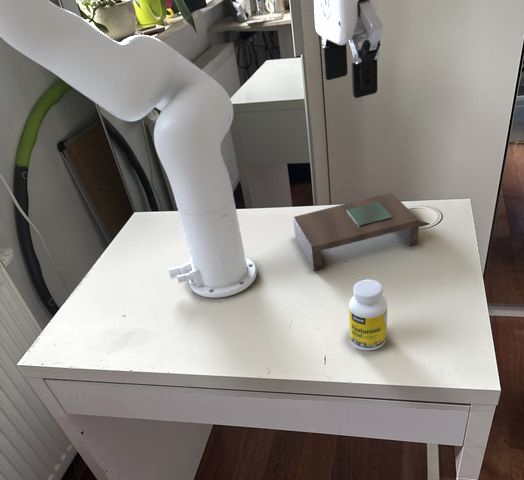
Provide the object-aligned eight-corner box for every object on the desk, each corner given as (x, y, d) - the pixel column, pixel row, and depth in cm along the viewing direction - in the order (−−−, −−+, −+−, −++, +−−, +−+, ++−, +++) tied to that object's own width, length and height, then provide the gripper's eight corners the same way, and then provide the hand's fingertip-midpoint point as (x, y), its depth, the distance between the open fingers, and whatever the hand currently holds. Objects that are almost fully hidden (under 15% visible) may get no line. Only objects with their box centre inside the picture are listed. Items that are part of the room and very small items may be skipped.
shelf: (313, 270, 94) (311, 246, 91) (295, 239, 103) (292, 215, 100) (417, 244, 96) (419, 218, 92) (390, 215, 105) (391, 191, 101)
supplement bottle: (346, 349, 78) (344, 297, 71) (353, 326, 82) (352, 274, 75) (383, 353, 76) (384, 300, 70) (389, 329, 80) (390, 277, 73)
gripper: (288, -71, 65) (302, 77, 76) (341, -68, 52) (349, 110, 63) (345, -83, 66) (350, 65, 77) (410, -83, 53) (405, 95, 64)
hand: (349, 85), depth 70 cm, fingers open, 9 cm apart
